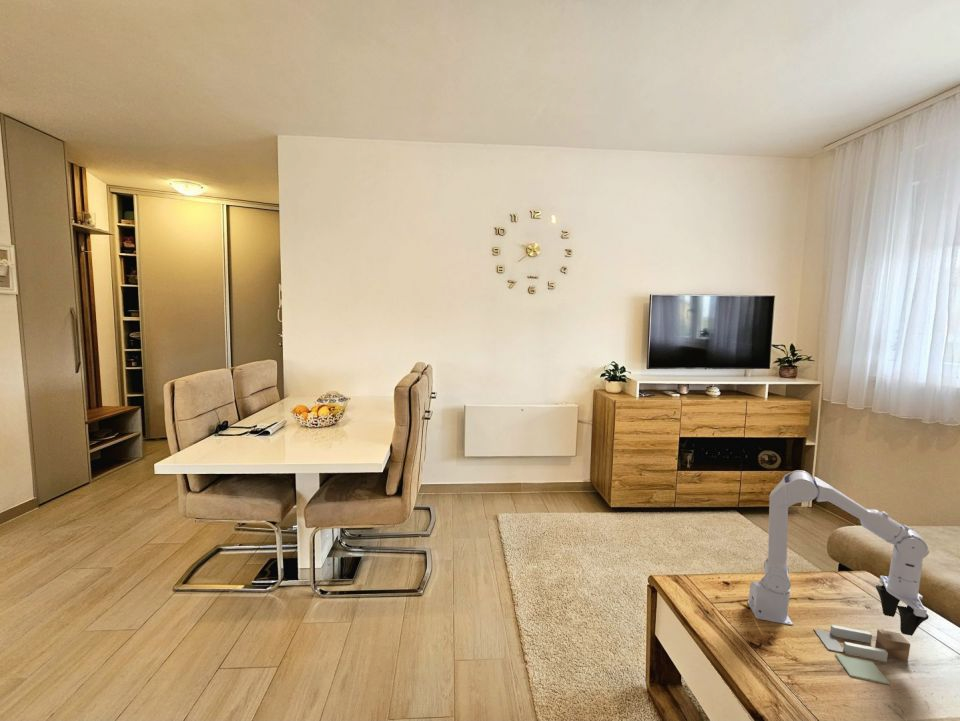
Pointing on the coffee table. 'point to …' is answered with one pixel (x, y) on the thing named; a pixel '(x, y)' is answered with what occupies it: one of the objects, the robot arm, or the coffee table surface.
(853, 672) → the pad
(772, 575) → the robot arm
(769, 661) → the coffee table surface
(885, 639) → the block
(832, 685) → the coffee table surface
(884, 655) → the channel
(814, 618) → the coffee table surface
